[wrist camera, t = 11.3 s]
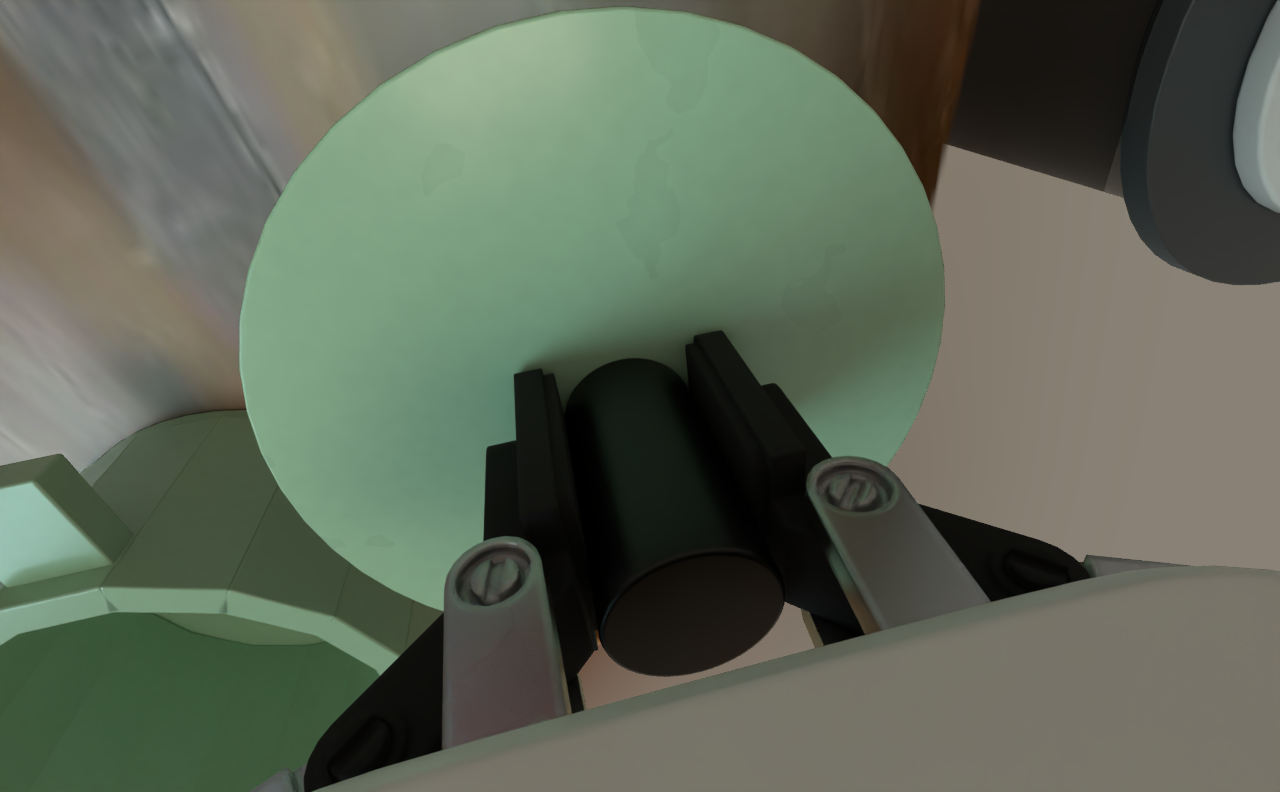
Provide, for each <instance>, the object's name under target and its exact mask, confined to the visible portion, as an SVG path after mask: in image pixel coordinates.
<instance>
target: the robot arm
mask: <svg viewBox="0 0 1280 792" xmlns="http://www.w3.org/2000/svg"><path fill="white" fill-rule="evenodd" d="M1233 145H1234V158H1235V166H1236V168H1237V171H1238V174H1239V176H1240V179H1241V182H1242V184H1243V187H1244V188H1245V189H1246V190H1247V192H1248V193H1249V194H1250V195H1251V196H1252V197H1253V198H1254V200H1255V201H1256V202H1257V203H1259V204H1261V205H1263V206H1265V207H1267V208H1269V209H1271V210H1272V211H1274V212H1277V213H1280V0H1276V2H1275V4H1274V6H1273V8H1272V9H1271V11H1270V13H1269V15H1268V16H1267V19H1266V21H1265V23H1264V26H1263V28H1262V30H1261V33H1260V35H1259V37H1258V40H1257V42H1256V44H1255V47H1254V49H1253V51H1252V53H1251V56H1250V58H1249V60H1248V64H1247V67H1246V71H1245V74H1244V78H1243V81H1242V84H1241V88H1240V91H1239V95H1238V98H1237V104H1236V112H1235V120H1234V128H1233ZM693 342H694V343H691V344H686V346H685V353H686V363H687V373H688V383H689V392H690V394H691V396H692V397H693V399H694V401H695V403H696V405H697V407H698V409H699V411H700V413H701V415H702V417H703V419H704V421H705V423H706V425H707V427H708V429H709V431H710V433H711V435H712V437H713V439H714V441H715V443H716V445H717V447H718V449H719V451H720V453H721V455H722V457H723V459H724V461H725V463H726V465H727V467H728V469H729V471H730V473H731V475H732V477H733V479H734V481H735V483H736V485H737V487H738V489H739V491H740V493H741V495H742V497H743V499H744V501H745V503H746V505H747V507H748V509H749V511H750V513H751V515H752V517H753V519H754V521H755V523H756V525H757V527H758V529H759V531H760V533H761V535H762V537H763V539H764V541H765V543H766V545H767V547H768V549H769V551H770V553H771V555H772V557H773V559H774V560H775V562H776V564H777V566H778V568H779V570H780V572H781V574H782V577H783V580H784V583H785V602H787V603H789V604H791V605H794V606H796V607H798V608H801V612H802V616H803V620H804V623H805V625H806V628H807V630H808V632H809V635H810V637H811V639H812V642H813V644H814V646H815V648H814V649H811V650H807V651H803V652H799V653H796V654H792V655H788V656H784V657H781V658H777V659H773V660H769V661H766V662H762V663H758V664H755V665H751V666H747V667H744V668H740V669H736V670H732V671H729V672H725V673H721V674H717V675H714V676H710V677H706V678H702V679H699V680H695V681H692V682H688V683H684V684H680V685H676V686H673V687H669V688H665V689H662V690H658V691H654V692H650V693H647V694H643V695H639V696H636V697H632V698H629V699H625V700H621V701H618V702H614V703H610V704H607V705H603V706H599V707H596V708H592V709H589V710H587V708H586V703H585V698H584V693H583V688H582V682H581V678H580V675H579V671H580V670H581V668H582V667H583V666H584V664H585V663H586V661H587V660H588V659H589V657H590V656H591V654H592V653H593V652H594V651H595V650H598V647H597V640H596V634H595V630H598V627H597V621H596V615H595V608H594V602H593V596H592V590H591V583H590V577H589V571H588V557H587V551H586V545H585V539H584V533H583V527H582V520H581V514H580V508H579V502H578V496H577V489H576V483H575V477H574V471H573V465H572V459H571V452H570V446H569V440H568V434H567V428H566V421H565V416H564V412H563V408H562V404H561V400H560V396H559V392H558V388H557V384H556V380H555V376H554V373H551V374H546V375H543V371H542V369H541V368H539V369H535V370H530V371H525V372H521V373H516V374H514V398H515V424H516V440H514V441H510V442H505V443H501V444H496V445H492V446H488V447H487V450H486V470H485V502H484V535H483V542H481V543H478V544H476V545H475V546H473V547H472V548H470V549H469V550H467V551H466V552H464V553H463V554H462V555H461V556H460V557H459V558H458V559H457V560H456V561H455V562H454V563H453V565H452V567H451V569H450V571H449V572H448V574H447V576H446V581H445V586H444V612H443V613H442V614H441V615H440V616H439V617H438V618H437V619H436V620H435V621H434V622H433V623H432V624H431V625H430V626H429V627H428V628H427V629H426V630H425V631H424V632H423V633H422V634H421V635H420V636H419V637H418V638H417V639H416V640H415V641H414V642H413V643H412V644H411V645H410V646H409V647H408V648H407V649H406V650H405V651H404V652H403V653H402V654H401V655H400V656H399V657H398V658H397V659H396V660H395V661H394V662H393V663H392V664H391V665H390V666H389V667H388V668H387V669H386V670H385V671H384V672H383V673H382V674H381V675H380V676H379V677H378V678H377V679H376V680H375V681H374V682H373V683H372V684H371V685H370V686H369V687H368V688H367V689H366V690H365V691H364V692H363V693H362V694H361V695H360V696H359V697H358V698H357V699H356V700H355V701H354V702H353V703H352V704H351V705H350V706H349V707H348V708H347V709H346V710H345V711H344V712H343V713H342V714H341V715H340V716H339V717H338V718H337V719H336V720H335V721H334V722H333V723H332V725H331V726H330V727H329V728H328V729H327V731H326V732H325V733H324V734H323V735H322V737H321V738H320V739H319V740H318V742H317V744H316V746H315V748H314V750H313V751H312V753H311V755H310V757H309V759H308V762H307V763H306V764H304V765H303V766H301V767H300V768H298V769H297V770H296V771H294V772H292V771H291V770H290V769H289V768H288V767H285V768H284V769H282V770H281V771H279V772H278V773H276V774H275V775H273V776H272V777H270V778H269V779H267V780H266V781H265V782H263V783H262V784H260V785H259V786H257V787H256V788H254V789H253V790H251V791H250V792H1280V571H1273V570H1267V569H1252V568H1239V567H1226V566H1188V565H1180V564H1170V563H1160V562H1150V561H1141V560H1131V559H1122V558H1112V557H1102V556H1093V555H1086V557H1085V559H1084V562H1078V561H1077V560H1076V559H1075V558H1074V557H1072V556H1070V555H1069V554H1067V553H1066V552H1064V551H1063V550H1061V549H1059V548H1058V547H1056V546H1053V545H1051V544H1048V543H1046V542H1043V541H1040V540H1037V539H1034V538H1031V537H1027V536H1024V535H1021V534H1017V533H1014V532H1011V531H1008V530H1004V529H1001V528H997V527H994V526H991V525H988V524H984V523H981V522H977V521H974V520H971V519H967V518H964V517H961V516H957V515H954V514H951V513H948V512H944V511H940V510H938V509H934V508H931V507H928V506H924V505H921V504H918V503H917V502H916V501H915V499H914V498H913V497H912V495H911V494H910V493H909V491H908V490H907V488H906V487H905V486H904V484H903V483H902V482H901V480H900V479H899V478H898V477H897V476H896V475H895V474H894V473H893V472H892V471H891V470H890V469H889V468H887V467H886V466H884V465H882V464H880V463H879V462H876V461H873V460H870V459H867V458H864V457H856V456H839V457H833V458H832V456H831V455H830V454H829V452H828V451H827V450H826V448H825V447H824V446H823V444H822V443H821V442H820V440H819V439H818V438H817V436H816V435H815V434H814V432H813V431H812V430H811V428H810V427H809V426H808V424H807V423H806V422H805V420H804V419H803V418H802V416H801V415H800V414H799V412H798V411H797V410H796V408H795V407H794V406H793V404H792V403H791V402H790V400H789V399H788V398H787V396H786V395H785V394H784V392H783V391H782V390H781V388H780V387H779V386H778V385H777V384H775V383H770V384H765V385H760V383H759V382H758V380H757V379H756V378H755V376H754V375H753V373H752V372H751V370H750V369H749V368H748V366H747V365H746V363H745V362H744V360H743V359H742V358H741V356H740V355H739V353H738V352H737V350H736V349H735V348H734V346H733V345H732V343H731V342H730V340H729V339H728V338H727V336H726V335H725V333H724V332H723V331H722V330H718V331H714V332H709V333H704V334H699V335H695V336H694V340H693Z"/></svg>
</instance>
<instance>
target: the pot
mask: <svg viewBox="0 0 1280 792" xmlns="http://www.w3.org/2000/svg"><path fill="white" fill-rule="evenodd" d="M443 612H444V611H441V610H438V609H435V608H432V607H429V606H426V605H424V604H422V603H420V602H418V601H415V600H413V599H411V598H409V597H406V596H404V595H402V594H400V593H398V592H395V591H393V590H392V589H390V588H388V587H387V586H385V585H383V584H382V583H380V582H378V581H377V580H375V579H373V578H371V577H370V576H368V575H366V574H365V573H363V572H361V571H360V570H359V569H358V568H356V567H355V566H354V565H352V564H351V563H350V562H349V561H347V560H346V559H345V558H343V557H342V556H341V555H340V554H338V553H337V552H336V551H334V550H333V549H332V548H331V547H330V546H329V545H328V544H327V543H326V542H325V541H324V540H323V539H322V538H321V537H320V536H319V535H318V534H317V533H316V532H315V531H314V530H313V529H312V528H311V527H310V526H309V525H308V524H307V523H306V522H305V521H304V520H303V518H302V517H301V516H300V514H299V513H298V512H297V510H296V509H295V508H294V506H293V505H292V504H291V502H290V501H289V500H288V498H287V497H286V496H285V494H284V493H283V492H282V490H281V489H280V487H279V485H278V483H277V482H276V480H275V478H274V476H273V474H272V472H271V470H270V469H269V467H268V465H267V463H266V461H265V459H264V457H263V456H262V454H261V451H260V448H259V445H258V443H257V440H256V437H255V434H254V431H253V428H252V425H251V422H250V420H249V417H248V414H247V410H230V411H213V412H206V413H199V414H192V415H187V416H183V417H179V418H175V419H171V420H168V421H164V422H161V423H158V424H156V425H153V426H151V427H148V428H146V429H143V430H141V431H138V432H137V433H135V434H133V435H131V436H130V437H128V438H126V439H124V440H123V441H121V442H119V443H118V444H116V445H115V446H114V447H113V448H111V449H110V450H109V451H108V452H106V453H105V454H104V455H103V456H102V457H101V458H100V459H99V460H98V461H96V462H95V463H93V464H92V465H90V466H89V467H87V468H86V469H84V470H83V471H82V472H81V473H80V474H79V473H78V471H77V470H76V469H75V468H74V467H73V466H72V465H71V464H70V462H69V461H68V460H67V459H66V458H65V457H64V456H63V455H62V454H55V455H51V456H46V457H41V458H36V459H31V460H26V461H21V462H16V463H12V464H7V465H2V466H0V792H250V791H251V790H253V789H254V788H256V787H257V786H259V785H260V784H262V783H263V782H265V781H266V780H267V779H269V778H270V777H272V776H273V775H275V774H276V773H278V772H279V771H281V770H282V769H284V768H285V767H288V768H289V769H290V770H291V771H292V772H294V771H296V770H297V769H298V768H300V767H301V766H303V765H304V764H306V763H307V762H308V759H309V757H310V755H311V753H312V751H313V750H314V748H315V746H316V744H317V742H318V740H319V739H320V738H321V737H322V735H323V734H324V733H325V732H326V731H327V729H328V728H329V727H330V726H331V725H332V723H333V722H334V721H335V720H336V719H337V718H338V717H339V716H340V715H341V714H342V713H343V712H344V711H345V710H346V709H347V708H348V707H349V706H350V705H351V704H352V703H353V702H354V701H355V700H356V699H357V698H358V697H359V696H360V695H361V694H362V693H363V692H364V691H365V690H366V689H367V688H368V687H369V686H370V685H371V684H372V683H373V682H374V681H375V680H376V679H377V678H378V677H379V676H380V675H381V674H382V673H383V672H384V671H385V670H386V669H387V668H388V667H389V666H390V665H391V664H392V663H393V662H394V661H395V660H396V659H397V658H398V657H399V656H400V655H401V654H402V653H403V652H404V651H405V650H406V649H407V648H408V647H409V646H410V645H411V644H412V643H413V642H414V641H415V640H416V639H417V638H418V637H419V636H420V635H421V634H422V633H423V632H424V631H425V630H426V629H427V628H428V627H429V626H430V625H431V624H432V623H433V622H434V621H435V620H436V619H437V618H438V617H439V616H440V615H441V614H442V613H443Z"/></svg>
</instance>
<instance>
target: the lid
mask: <svg viewBox="0 0 1280 792" xmlns="http://www.w3.org/2000/svg"><path fill="white" fill-rule="evenodd" d="M944 290H945V289H944V264H943V258H942V252H941V247H940V241H939V235H938V229H937V225H936V222H935V219H934V216H933V213H932V210H931V207H930V204H929V201H928V199H927V196H926V193H925V190H924V187H923V185H922V183H921V181H920V179H919V177H918V175H917V174H916V172H915V170H914V168H913V166H912V164H911V162H910V160H909V159H908V157H907V155H906V153H905V151H904V149H903V147H902V146H901V145H900V143H899V142H898V141H897V139H896V138H895V137H894V135H893V134H892V133H891V132H890V130H889V129H888V128H887V126H886V125H885V124H884V122H883V121H882V120H881V119H880V117H879V116H878V115H877V113H876V112H875V111H874V110H873V109H872V108H871V107H870V106H869V105H868V104H867V103H866V102H865V101H864V100H862V99H861V98H860V97H859V96H858V95H857V94H856V93H855V92H854V91H853V90H852V89H851V88H849V87H848V86H847V85H846V84H845V83H844V82H843V81H842V80H841V79H840V78H839V77H838V76H836V75H835V74H833V73H831V72H830V71H828V70H827V69H825V68H824V67H822V66H821V65H819V64H818V63H816V62H815V61H813V60H811V59H810V58H808V57H807V56H805V55H804V54H802V53H801V52H799V51H798V50H796V49H795V48H793V47H790V46H788V45H786V44H784V43H781V42H779V41H777V40H774V39H772V38H770V37H767V36H765V35H763V34H761V33H758V32H756V31H754V30H751V29H749V28H747V27H744V26H742V25H738V24H734V23H730V22H726V21H722V20H718V19H714V18H710V17H706V16H702V15H698V14H694V13H690V12H686V11H677V10H665V9H653V8H641V7H629V6H616V7H602V8H589V9H576V10H563V11H555V12H550V13H546V14H542V15H538V16H534V17H529V18H525V19H521V20H517V21H513V22H508V23H504V24H500V25H496V26H493V27H491V28H488V29H486V30H484V31H481V32H479V33H476V34H474V35H471V36H469V37H467V38H464V39H462V40H459V41H457V42H455V43H452V44H450V45H447V46H445V47H442V48H440V49H438V50H436V51H434V52H432V53H431V54H429V55H428V56H426V57H424V58H423V59H421V60H419V61H418V62H416V63H415V64H413V65H411V66H410V67H408V68H406V69H405V70H403V71H402V72H400V73H398V74H397V75H395V76H393V77H392V78H390V79H388V80H387V81H385V82H384V83H382V84H380V85H379V86H378V87H377V88H376V89H375V90H373V91H372V92H371V93H370V94H369V95H368V96H366V97H365V98H364V99H363V100H362V101H361V102H359V103H358V104H357V105H356V106H355V107H354V108H352V109H351V110H350V111H349V112H348V113H347V114H346V115H344V116H343V117H342V118H341V119H340V120H339V121H337V122H336V123H335V124H334V125H333V126H332V127H331V128H330V130H329V131H328V132H327V133H326V134H325V136H324V137H323V138H322V139H321V140H320V142H319V143H318V144H317V145H316V146H315V148H314V149H313V150H312V151H311V152H310V154H309V155H308V156H307V157H306V158H305V160H304V161H303V162H302V163H301V164H300V166H299V167H298V168H297V169H296V170H295V172H294V174H293V175H292V177H291V179H290V181H289V182H288V184H287V186H286V187H285V189H284V191H283V193H282V194H281V196H280V198H279V199H278V201H277V203H276V205H275V206H274V208H273V210H272V212H271V213H270V215H269V217H268V218H267V220H266V223H265V226H264V229H263V231H262V234H261V237H260V239H259V242H258V245H257V248H256V250H255V253H254V256H253V258H252V261H251V264H250V267H249V269H248V274H247V280H246V285H245V291H244V296H243V302H242V308H241V313H240V319H239V368H240V374H241V380H242V386H243V392H244V398H245V404H246V410H247V414H248V417H249V420H250V422H251V425H252V428H253V431H254V434H255V437H256V440H257V443H258V445H259V448H260V451H261V454H262V456H263V457H264V459H265V461H266V463H267V465H268V467H269V469H270V470H271V472H272V474H273V476H274V478H275V480H276V482H277V483H278V485H279V487H280V489H281V490H282V492H283V493H284V494H285V496H286V497H287V498H288V500H289V501H290V502H291V504H292V505H293V506H294V508H295V509H296V510H297V512H298V513H299V514H300V516H301V517H302V518H303V520H304V521H305V522H306V523H307V524H308V525H309V526H310V527H311V528H312V529H313V530H314V531H315V532H316V533H317V534H318V535H319V536H320V537H321V538H322V539H323V540H324V541H325V542H326V543H327V544H328V545H329V546H330V547H331V548H332V549H333V550H334V551H336V552H337V553H338V554H340V555H341V556H342V557H343V558H345V559H346V560H347V561H349V562H350V563H351V564H352V565H354V566H355V567H356V568H358V569H359V570H360V571H361V572H363V573H365V574H366V575H368V576H370V577H371V578H373V579H375V580H377V581H378V582H380V583H382V584H383V585H385V586H387V587H388V588H390V589H392V590H393V591H395V592H398V593H400V594H402V595H404V596H406V597H409V598H411V599H413V600H415V601H418V602H420V603H422V604H424V605H426V606H429V607H432V608H435V609H438V610H441V611H444V586H445V581H446V576H447V574H448V572H449V571H450V569H451V567H452V565H453V563H454V562H455V561H456V560H457V559H458V558H459V557H460V556H461V555H462V554H463V553H464V552H466V551H467V550H469V549H470V548H472V547H473V546H475V545H476V544H478V543H481V542H483V535H484V502H485V470H486V450H487V447H488V446H492V445H496V444H501V443H505V442H510V441H514V440H516V424H515V398H514V374H516V373H521V372H525V371H530V370H535V369H539V368H541V369H542V371H543V375H546V374H551V373H554V376H555V380H556V384H557V388H558V392H559V396H560V400H561V404H562V408H563V412H564V416H565V421H566V428H567V434H568V440H569V446H570V452H571V459H572V465H573V471H574V477H575V483H576V489H577V496H578V502H579V508H580V514H581V520H582V527H583V533H584V539H585V545H586V551H587V557H588V571H589V577H590V583H591V590H592V596H593V602H594V608H595V615H596V621H597V627H598V633H599V639H600V642H601V644H602V647H603V648H604V650H605V651H606V652H607V654H608V655H609V657H610V658H611V659H613V660H614V661H615V662H616V663H617V664H619V665H620V666H622V667H624V668H626V669H628V670H630V671H633V672H636V673H639V674H644V675H650V676H663V677H670V676H681V675H688V674H693V673H697V672H702V671H705V670H708V669H712V668H714V667H717V666H720V665H722V664H724V663H727V662H729V661H731V660H733V659H735V658H736V657H738V656H740V655H742V654H743V653H745V652H746V651H748V650H749V649H751V648H752V647H753V646H755V645H756V644H757V643H758V642H759V641H761V640H762V639H763V638H764V637H765V636H766V635H767V634H768V632H769V631H770V630H771V629H772V628H773V626H774V625H775V623H776V622H777V620H778V618H779V616H780V614H781V612H782V609H783V606H784V602H785V583H784V580H783V577H782V574H781V572H780V570H779V568H778V566H777V564H776V562H775V560H774V559H773V557H772V555H771V553H770V551H769V549H768V547H767V545H766V543H765V541H764V539H763V537H762V535H761V533H760V531H759V529H758V527H757V525H756V523H755V521H754V519H753V517H752V515H751V513H750V511H749V509H748V507H747V505H746V503H745V501H744V499H743V497H742V495H741V493H740V491H739V489H738V487H737V485H736V483H735V481H734V479H733V477H732V475H731V473H730V471H729V469H728V467H727V465H726V463H725V461H724V459H723V457H722V455H721V453H720V451H719V449H718V447H717V445H716V443H715V441H714V439H713V437H712V435H711V433H710V431H709V429H708V427H707V425H706V423H705V421H704V419H703V417H702V415H701V413H700V411H699V409H698V407H697V405H696V403H695V401H694V399H693V397H692V396H691V394H690V392H689V383H688V373H687V363H686V353H685V346H686V344H691V343H694V342H693V340H694V336H695V335H699V334H704V333H709V332H714V331H718V330H722V331H723V332H724V333H725V335H726V336H727V338H728V339H729V340H730V342H731V343H732V345H733V346H734V348H735V349H736V350H737V352H738V353H739V355H740V356H741V358H742V359H743V360H744V362H745V363H746V365H747V366H748V368H749V369H750V370H751V372H752V373H753V375H754V376H755V378H756V379H757V380H758V382H759V383H760V385H765V384H770V383H775V384H777V385H778V386H779V387H780V388H781V390H782V391H783V392H784V394H785V395H786V396H787V398H788V399H789V400H790V402H791V403H792V404H793V406H794V407H795V408H796V410H797V411H798V412H799V414H800V415H801V416H802V418H803V419H804V420H805V422H806V423H807V424H808V426H809V427H810V428H811V430H812V431H813V432H814V434H815V435H816V436H817V438H818V439H819V440H820V442H821V443H822V444H823V446H824V447H825V448H826V450H827V451H828V452H829V454H830V455H831V456H832V458H833V457H839V456H856V457H864V458H867V459H870V460H873V461H876V462H879V463H880V464H882V465H884V466H886V467H887V466H888V464H889V463H890V462H891V460H892V458H893V457H894V455H895V454H896V452H897V451H898V449H899V448H900V446H901V445H902V443H903V442H904V440H905V438H906V436H907V434H908V432H909V430H910V428H911V426H912V424H913V422H914V420H915V418H916V416H917V414H918V412H919V410H920V407H921V405H922V402H923V400H924V397H925V394H926V392H927V389H928V387H929V384H930V381H931V379H932V375H933V371H934V367H935V363H936V359H937V355H938V351H939V347H940V343H941V334H942V326H943V317H944V308H945V291H944Z"/></svg>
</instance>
